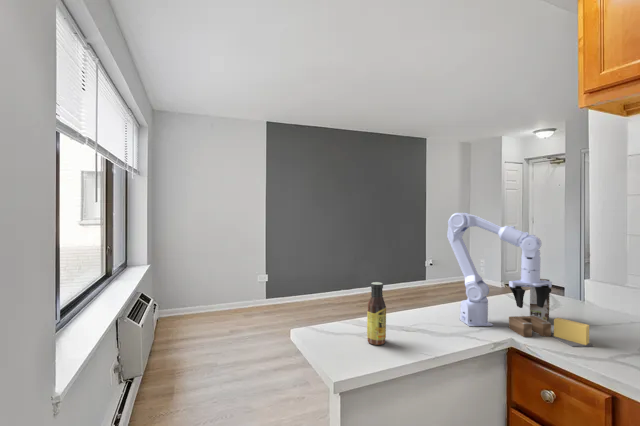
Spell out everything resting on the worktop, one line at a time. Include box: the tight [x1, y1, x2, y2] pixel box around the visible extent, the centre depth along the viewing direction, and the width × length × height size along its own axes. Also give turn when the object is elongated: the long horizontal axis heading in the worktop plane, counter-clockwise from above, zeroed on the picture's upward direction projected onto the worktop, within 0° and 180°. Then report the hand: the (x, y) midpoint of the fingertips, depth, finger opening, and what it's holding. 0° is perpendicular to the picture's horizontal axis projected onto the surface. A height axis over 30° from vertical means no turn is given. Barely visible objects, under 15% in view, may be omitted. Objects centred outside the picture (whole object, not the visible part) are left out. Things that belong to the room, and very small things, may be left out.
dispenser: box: [508, 315, 552, 338], centre depth 116 cm, size 10×8×5 cm
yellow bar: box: [553, 317, 590, 345], centre depth 109 cm, size 3×9×6 cm, turn 34°
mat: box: [550, 331, 594, 348], centre depth 110 cm, size 7×11×1 cm, turn 3°
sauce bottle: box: [366, 281, 387, 346], centre depth 108 cm, size 6×6×20 cm
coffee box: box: [529, 278, 551, 322], centre depth 129 cm, size 9×6×16 cm
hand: (529, 307), depth 115 cm, fingers open, 7 cm apart
